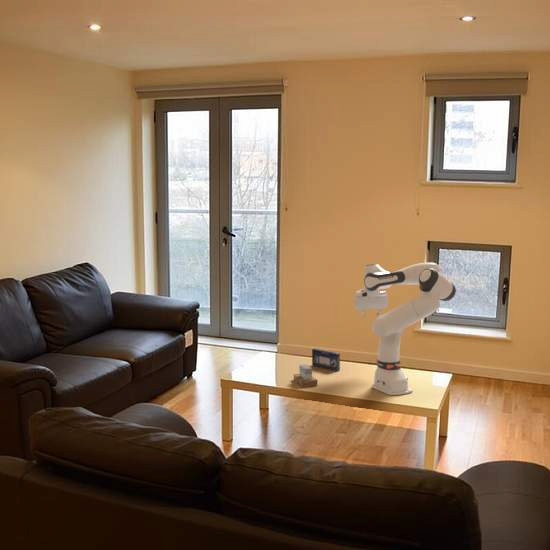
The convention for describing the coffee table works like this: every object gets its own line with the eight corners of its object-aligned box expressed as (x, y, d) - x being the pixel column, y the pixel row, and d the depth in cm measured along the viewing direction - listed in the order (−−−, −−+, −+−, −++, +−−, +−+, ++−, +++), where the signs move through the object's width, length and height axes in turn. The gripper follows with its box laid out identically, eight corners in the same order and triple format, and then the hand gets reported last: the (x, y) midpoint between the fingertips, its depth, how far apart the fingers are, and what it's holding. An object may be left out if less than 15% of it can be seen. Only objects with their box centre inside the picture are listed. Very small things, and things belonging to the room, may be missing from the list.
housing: (306, 374, 368) (306, 364, 368) (312, 379, 361) (312, 368, 360) (299, 375, 367) (299, 364, 366) (305, 379, 360) (305, 368, 359)
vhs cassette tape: (311, 365, 397) (311, 349, 395) (315, 364, 399) (315, 348, 397) (336, 371, 385) (337, 354, 383) (340, 370, 387) (340, 353, 385)
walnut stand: (317, 385, 359) (317, 380, 359) (303, 387, 357) (303, 381, 356) (307, 378, 372) (307, 373, 372) (293, 379, 370) (293, 374, 369)
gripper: (385, 290, 388) (384, 313, 390) (352, 292, 381) (352, 316, 383) (390, 292, 382) (389, 316, 384) (357, 294, 375) (357, 318, 377)
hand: (370, 316), depth 384 cm, fingers open, 8 cm apart
